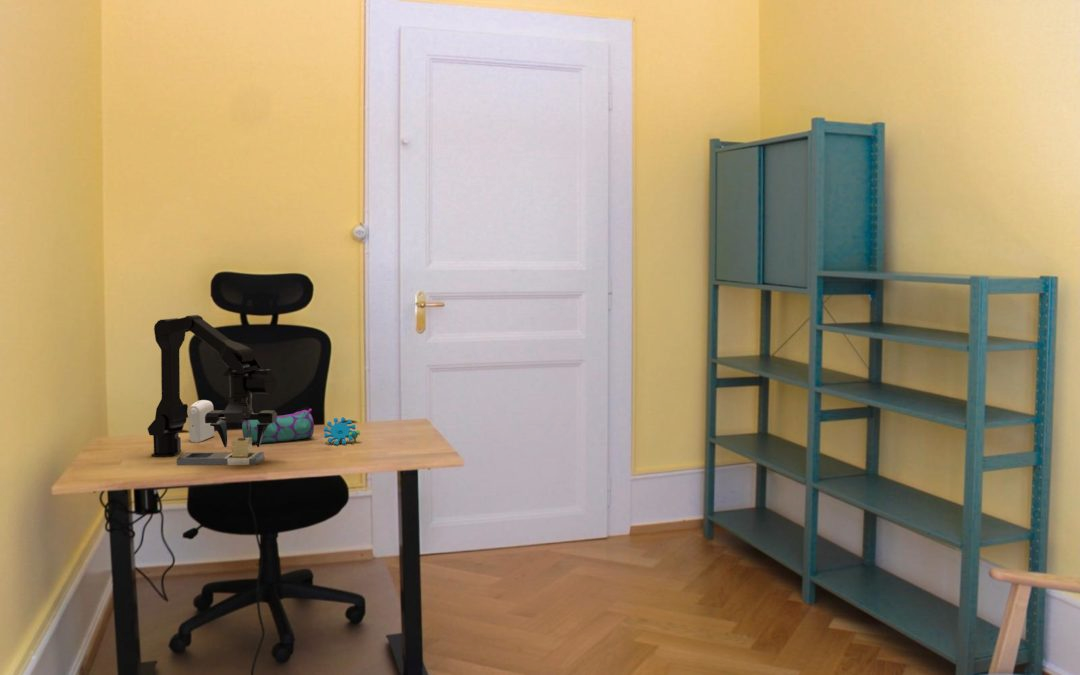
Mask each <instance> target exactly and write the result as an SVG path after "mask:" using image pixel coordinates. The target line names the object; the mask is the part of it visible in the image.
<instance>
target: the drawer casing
mask: <svg viewBox="0 0 1080 675" xmlns="http://www.w3.org/2000/svg"><path fill="white" fill-rule="evenodd" d="M264 459H265V452H263V451H262V452H261V451H255V452H254V451H252V456H251V457H249V458H232V451H230V452H227V451H225V452H223V451H220V452H217V451H214V452H211V451H210V452H209V451H208V452H207V451H205V452H201V451H200V452H194V451H193V452H191V451H190V452H187V451H186V452H185V453H184V454H182V455H180V456H178V457H176V465H177V466H216V465H217V466H219V465H221V466H223V465H224V466H227V465H228V466H235V465H236V466H246V465H248V466H249V465H250V466H255V465H256V466H257V465H258V464H260V462H262V461H263V460H264Z"/></svg>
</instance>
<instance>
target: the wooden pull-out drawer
mask: <svg viewBox="0 0 1080 675" xmlns="http://www.w3.org/2000/svg"><path fill="white" fill-rule="evenodd" d="M231 452H232V458H249V457H251V456H252V452H253V443H252V438H244V437H235V438H233V439H232V440H231Z"/></svg>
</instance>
